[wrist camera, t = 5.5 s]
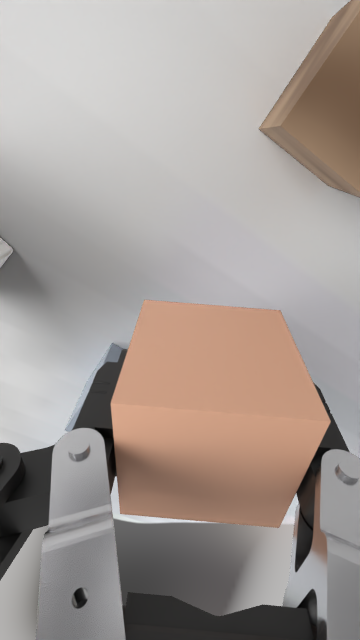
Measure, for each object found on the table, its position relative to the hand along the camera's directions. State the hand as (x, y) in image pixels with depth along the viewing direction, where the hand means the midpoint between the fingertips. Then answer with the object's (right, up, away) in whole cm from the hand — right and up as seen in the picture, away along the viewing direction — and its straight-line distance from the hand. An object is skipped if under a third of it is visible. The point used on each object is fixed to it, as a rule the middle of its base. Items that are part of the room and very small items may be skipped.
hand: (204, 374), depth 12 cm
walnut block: (+7, +13, +4) cm, 15 cm away
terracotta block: (0, +1, +1) cm, 1 cm away
